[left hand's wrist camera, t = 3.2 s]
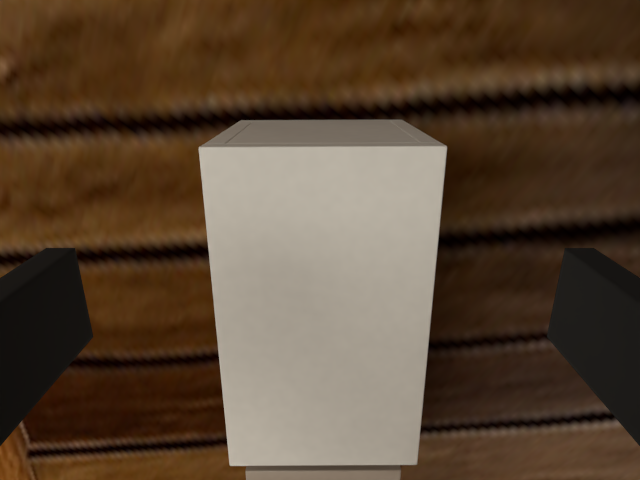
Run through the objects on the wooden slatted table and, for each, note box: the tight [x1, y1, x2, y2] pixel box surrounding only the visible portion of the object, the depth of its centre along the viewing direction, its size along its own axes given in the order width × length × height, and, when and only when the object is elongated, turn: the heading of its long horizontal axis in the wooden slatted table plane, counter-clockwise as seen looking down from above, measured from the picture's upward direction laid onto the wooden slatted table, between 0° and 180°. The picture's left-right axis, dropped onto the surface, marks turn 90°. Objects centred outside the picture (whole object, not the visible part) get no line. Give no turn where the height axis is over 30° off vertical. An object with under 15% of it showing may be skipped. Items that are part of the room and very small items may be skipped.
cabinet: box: [199, 120, 447, 466], centre depth 26 cm, size 17×10×10 cm, turn 0°
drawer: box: [246, 465, 401, 480], centre depth 28 cm, size 21×9×8 cm, turn 0°
